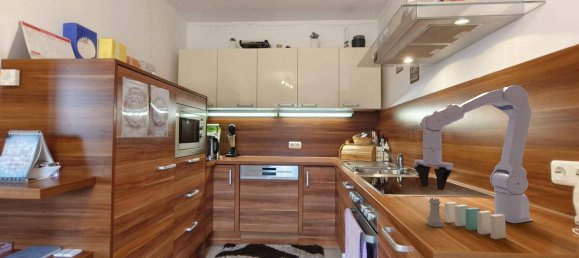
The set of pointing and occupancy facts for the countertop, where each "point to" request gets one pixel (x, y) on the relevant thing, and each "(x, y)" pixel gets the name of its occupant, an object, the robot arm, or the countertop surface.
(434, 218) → the rook chess piece
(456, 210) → the domino
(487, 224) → the domino
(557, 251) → the countertop surface
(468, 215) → the domino
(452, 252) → the countertop surface
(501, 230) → the domino
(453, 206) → the domino
